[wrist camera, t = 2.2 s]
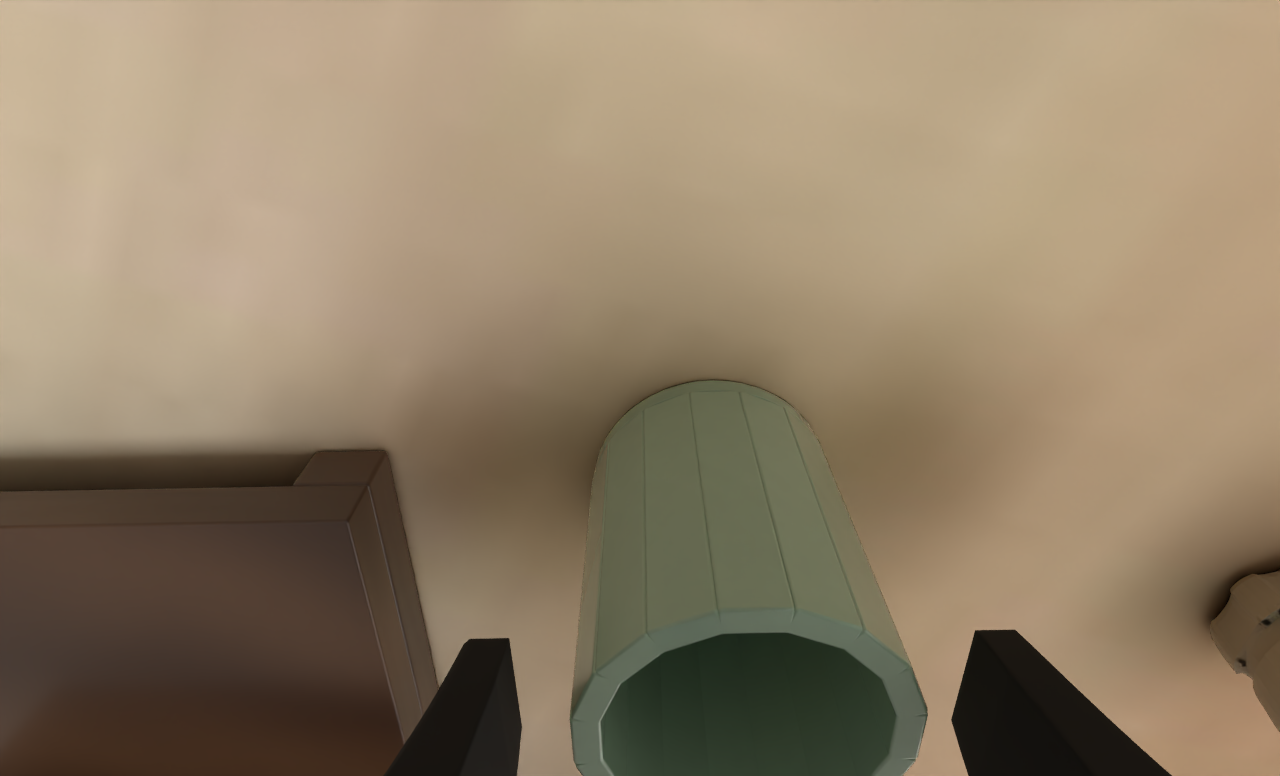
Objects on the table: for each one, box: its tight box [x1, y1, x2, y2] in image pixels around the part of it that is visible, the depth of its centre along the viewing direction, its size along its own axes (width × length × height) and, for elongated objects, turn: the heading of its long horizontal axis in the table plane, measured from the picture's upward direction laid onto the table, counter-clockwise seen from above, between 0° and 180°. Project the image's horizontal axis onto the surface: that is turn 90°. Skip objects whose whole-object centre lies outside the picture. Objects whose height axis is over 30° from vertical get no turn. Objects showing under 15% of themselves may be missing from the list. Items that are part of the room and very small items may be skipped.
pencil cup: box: [570, 380, 928, 776], centre depth 13 cm, size 5×5×6 cm
